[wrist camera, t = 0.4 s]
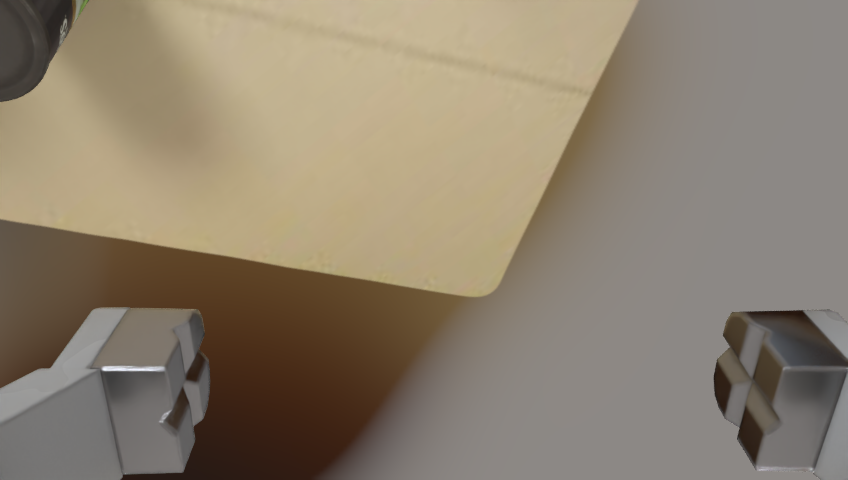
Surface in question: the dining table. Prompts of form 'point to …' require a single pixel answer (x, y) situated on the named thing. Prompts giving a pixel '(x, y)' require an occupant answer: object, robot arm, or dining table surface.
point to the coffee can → (31, 40)
